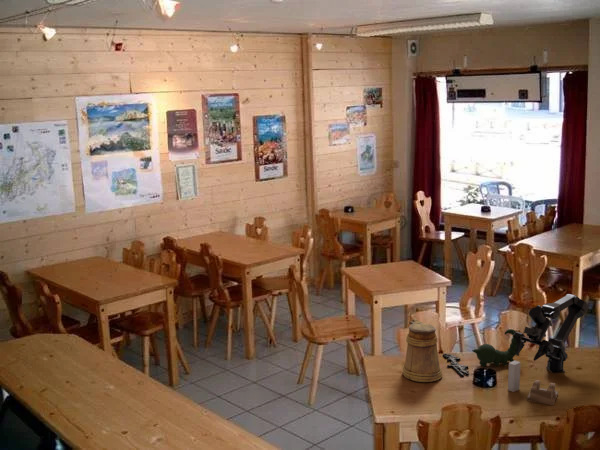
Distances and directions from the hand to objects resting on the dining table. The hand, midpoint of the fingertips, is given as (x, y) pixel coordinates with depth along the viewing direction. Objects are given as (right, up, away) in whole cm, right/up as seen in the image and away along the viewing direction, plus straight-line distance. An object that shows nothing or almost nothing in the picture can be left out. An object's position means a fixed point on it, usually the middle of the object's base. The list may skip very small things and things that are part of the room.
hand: (525, 357), depth 327 cm
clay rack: (+4, -16, -11) cm, 19 cm away
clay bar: (-6, -14, -2) cm, 16 cm away
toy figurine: (-6, -9, +26) cm, 28 cm away
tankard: (-45, -11, +17) cm, 50 cm away
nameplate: (-26, -10, +26) cm, 38 cm away
